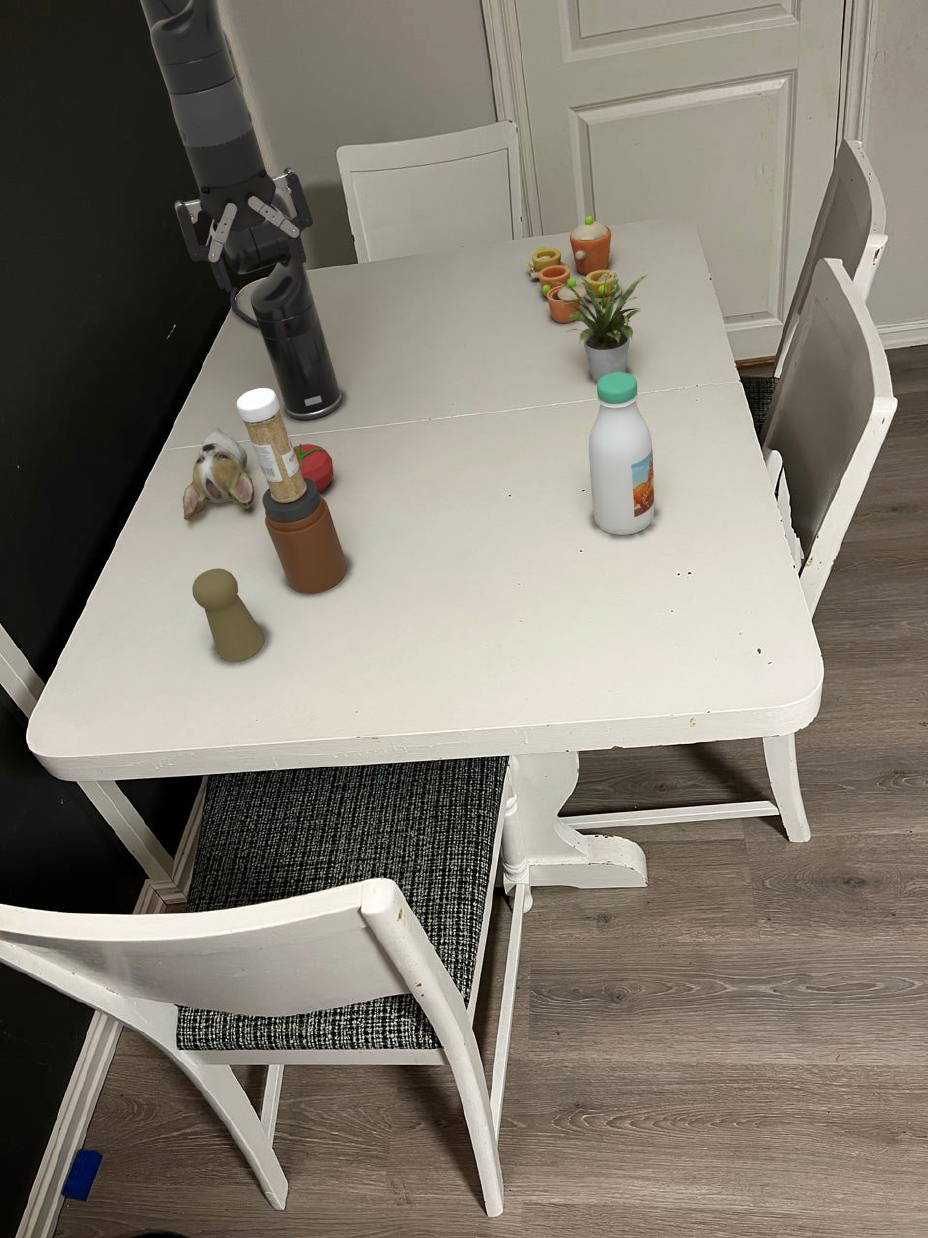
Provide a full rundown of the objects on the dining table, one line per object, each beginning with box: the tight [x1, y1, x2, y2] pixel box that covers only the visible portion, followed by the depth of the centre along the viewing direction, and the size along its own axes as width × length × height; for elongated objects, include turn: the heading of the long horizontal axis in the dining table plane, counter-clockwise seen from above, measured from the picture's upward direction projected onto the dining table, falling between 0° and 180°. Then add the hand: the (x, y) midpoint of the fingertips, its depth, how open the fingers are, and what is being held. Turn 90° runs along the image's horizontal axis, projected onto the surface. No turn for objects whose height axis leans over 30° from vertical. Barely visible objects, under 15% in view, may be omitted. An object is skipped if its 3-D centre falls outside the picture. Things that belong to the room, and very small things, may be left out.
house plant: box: [553, 272, 648, 384], centre depth 142 cm, size 14×14×16 cm
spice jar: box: [236, 387, 307, 503], centre depth 111 cm, size 5×5×14 cm
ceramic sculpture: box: [182, 427, 255, 521], centre depth 138 cm, size 11×9×15 cm
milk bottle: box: [588, 372, 655, 536], centre depth 115 cm, size 8×8×20 cm
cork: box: [191, 567, 266, 663], centre depth 113 cm, size 6×6×11 cm
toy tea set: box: [526, 215, 622, 324], centre depth 166 cm, size 26×16×10 cm, turn 5°
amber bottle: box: [261, 477, 348, 595], centre depth 120 cm, size 8×8×13 cm
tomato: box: [292, 443, 335, 494], centre depth 136 cm, size 8×8×8 cm
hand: (264, 278), depth 110 cm, fingers open, 8 cm apart
